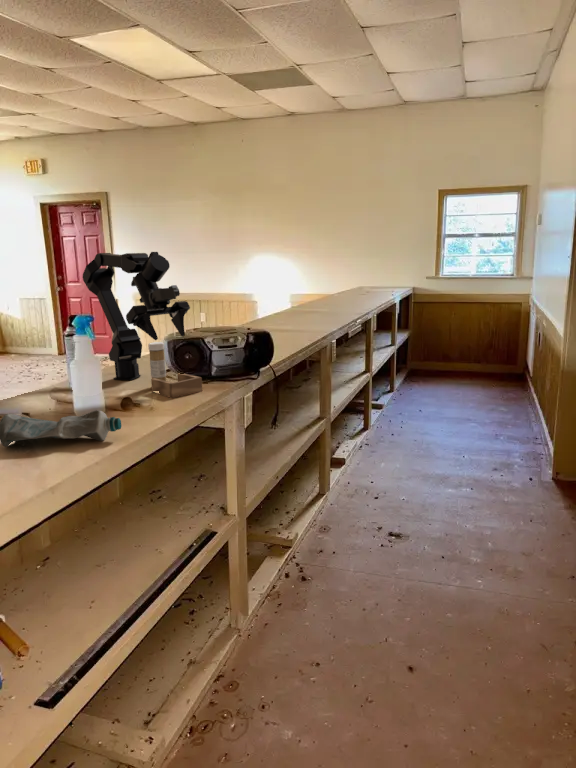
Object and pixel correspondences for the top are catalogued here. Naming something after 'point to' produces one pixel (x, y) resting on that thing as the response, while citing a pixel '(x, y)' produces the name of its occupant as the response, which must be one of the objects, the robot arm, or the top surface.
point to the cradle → (178, 386)
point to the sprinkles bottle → (157, 360)
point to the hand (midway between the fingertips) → (170, 337)
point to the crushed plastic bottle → (57, 427)
